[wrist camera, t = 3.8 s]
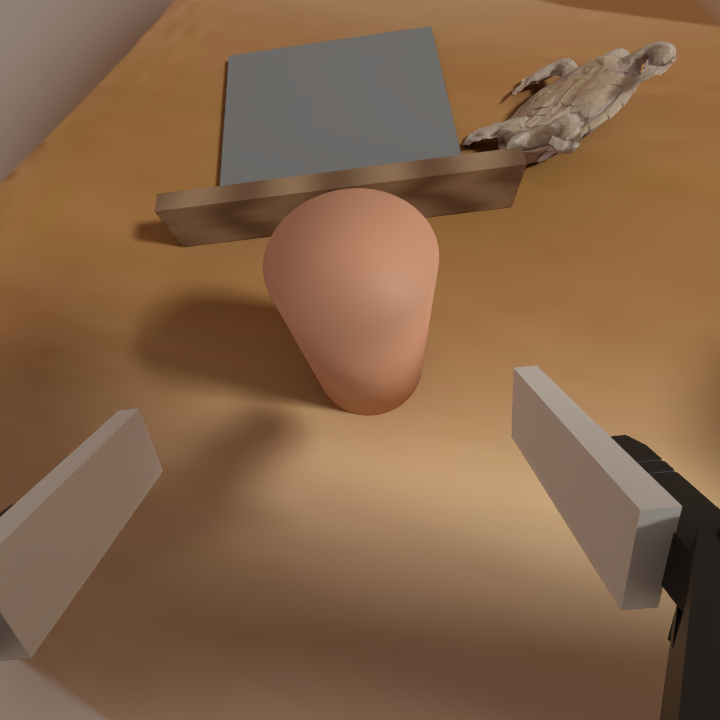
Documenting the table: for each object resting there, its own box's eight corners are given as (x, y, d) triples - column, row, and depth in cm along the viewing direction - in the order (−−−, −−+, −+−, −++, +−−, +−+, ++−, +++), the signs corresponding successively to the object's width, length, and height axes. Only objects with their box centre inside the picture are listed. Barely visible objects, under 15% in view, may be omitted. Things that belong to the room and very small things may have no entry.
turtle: (543, 237, 33) (653, 154, 24) (445, 179, 32) (520, 68, 23) (589, 107, 38) (698, -6, 28) (505, 53, 37) (589, -84, 27)
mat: (430, 33, 39) (430, 26, 39) (462, 170, 33) (463, 164, 32) (231, 62, 40) (228, 55, 40) (222, 200, 34) (219, 195, 33)
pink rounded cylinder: (414, 313, 28) (425, 178, 17) (428, 409, 26) (452, 325, 14) (315, 324, 28) (264, 199, 17) (320, 420, 26) (262, 346, 15)
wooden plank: (506, 190, 31) (521, 146, 28) (511, 206, 31) (526, 164, 27) (184, 230, 33) (157, 194, 29) (182, 246, 32) (154, 211, 28)
